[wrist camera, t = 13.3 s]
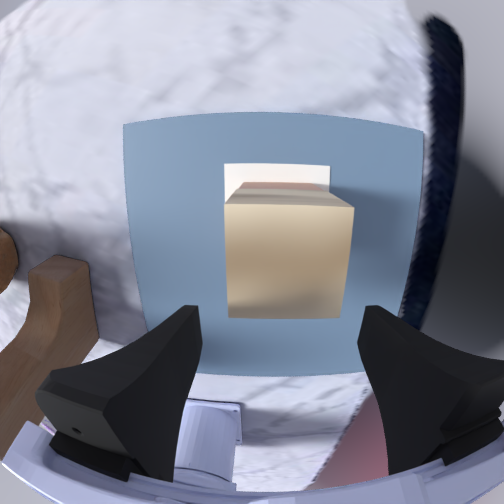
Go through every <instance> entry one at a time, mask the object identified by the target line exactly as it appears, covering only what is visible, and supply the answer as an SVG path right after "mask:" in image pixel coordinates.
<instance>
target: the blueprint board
mask: <svg viewBox="0 0 504 504" xmlns="http://www.w3.org/2000/svg"><path fill="white" fill-rule="evenodd" d="M123 156H124V177H125V192H126V204H127V214H128V223H129V231H130V239H131V246H132V253H133V260H134V266H135V272H136V277H137V283H138V288H139V293H140V298H141V303H142V308H143V312H144V317H145V321H146V325H147V329H148V332H149V331H151V330H152V329H154V328H155V327H157V326H158V325H159V324H161V323H162V322H163V321H164V320H166V319H167V318H168V317H170V316H171V315H172V314H173V313H174V312H176V311H177V310H178V309H180V308H181V307H182V306H184V305H198V307H199V316H200V325H201V333H202V340H203V345H202V351H201V356H200V361H199V365H198V368H197V371H196V373H204V374H217V375H234V376H271V377H278V376H315V375H332V374H345V373H355V372H365V369H364V366H363V364H362V361H361V357H360V354H359V349H358V345H357V340H358V336H359V332H360V328H361V324H362V320H363V315H364V311H365V306H368V305H379V306H381V307H383V308H384V309H386V310H388V311H389V312H391V313H392V314H394V315H395V316H397V315H398V312H399V308H400V305H401V301H402V297H403V293H404V289H405V285H406V281H407V276H408V272H409V267H410V262H411V257H412V252H413V246H414V240H415V234H416V228H417V220H418V213H419V204H420V194H421V183H422V167H423V131H420V130H416V129H411V128H407V127H402V126H397V125H392V124H386V123H381V122H375V121H368V120H362V119H355V118H347V117H338V116H328V115H317V114H303V113H281V112H235V113H213V114H199V115H187V116H177V117H169V118H161V119H154V120H147V121H141V122H135V123H129V124H123ZM243 182H294V183H312V184H314V185H316V186H317V187H319V188H321V189H322V190H324V191H328V192H329V193H331V194H333V195H335V196H336V197H338V198H340V199H341V200H343V201H345V202H346V203H348V204H350V205H351V206H353V207H354V218H353V228H352V238H351V246H350V255H349V262H348V270H347V276H346V283H345V289H344V296H343V301H342V307H341V313H340V318H324V319H248V318H228V302H227V280H226V254H225V222H224V204H225V202H226V201H227V200H228V199H229V197H230V196H231V195H232V194H233V193H234V191H235V190H236V189H238V188H239V187H240V186H241V185H242V183H243Z"/></svg>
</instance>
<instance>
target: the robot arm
mask: <svg viewBox="0 0 504 504" xmlns="http://www.w3.org/2000/svg"><path fill="white" fill-rule="evenodd" d="M202 345H203V340H202V333H201V325H200V316H199V307H198V305H184V306H182V307H181V308H180V309H178V310H177V311H176V312H174V313H173V314H172V315H171V316H170V317H168V318H167V319H166V320H164V321H163V322H162V323H161V324H159V325H158V326H157V327H155V328H154V329H152V330H151V331H149V332H148V333H147V334H145V335H144V336H142V337H141V338H139V339H138V340H136V341H134V342H133V343H131V344H129V345H127V346H125V347H123V348H122V349H120V350H117V351H115V352H113V353H110V354H108V355H106V356H104V357H101V358H98V359H96V360H93V361H90V362H86V363H83V364H80V365H76V366H71V367H66V368H61V369H55V370H51V372H50V373H49V374H48V376H47V377H46V378H45V379H44V381H43V382H42V383H41V385H40V386H39V387H38V389H37V390H36V391H35V399H36V402H37V404H38V406H39V407H40V409H41V410H42V412H43V413H44V415H45V416H46V417H47V419H48V420H49V421H50V422H51V424H52V425H53V426H54V428H55V429H56V430H57V431H56V433H55V435H54V436H53V435H52V434H50V433H49V432H48V431H46V430H45V429H43V428H41V427H39V426H37V425H35V424H34V423H32V422H30V421H26V423H25V424H24V426H23V427H22V429H21V430H20V432H19V434H18V435H17V437H16V438H15V440H14V442H13V443H12V445H11V446H10V448H9V450H8V451H7V453H6V455H5V457H4V458H3V460H2V465H3V466H5V467H6V468H7V469H8V470H9V471H10V472H11V473H13V474H14V475H15V476H16V477H18V478H19V479H20V480H21V481H22V482H24V483H25V484H27V485H28V486H29V487H30V488H32V489H33V490H35V491H36V492H37V493H39V494H40V495H42V496H43V497H45V498H46V499H48V500H50V501H51V502H53V503H55V504H470V503H472V502H474V501H476V500H477V499H479V498H480V497H482V496H483V495H485V494H486V493H488V492H489V491H491V490H492V489H493V488H495V487H496V486H498V485H499V484H500V483H502V482H503V481H504V420H503V421H502V422H501V421H500V420H499V418H498V417H500V416H501V411H500V409H499V407H500V405H501V404H502V402H503V401H504V360H496V359H489V358H484V357H480V356H476V355H472V354H469V353H466V352H463V351H460V350H457V349H454V348H452V347H449V346H447V345H445V344H443V343H441V342H439V341H436V340H435V339H432V338H431V337H429V336H427V335H425V334H424V333H422V332H420V331H419V330H417V329H415V328H414V327H412V326H411V325H409V324H407V323H406V322H404V321H403V320H401V319H400V318H398V317H397V316H395V315H394V314H392V313H391V312H389V311H388V310H386V309H384V308H383V307H381V306H379V305H368V306H365V311H364V315H363V320H362V324H361V328H360V332H359V336H358V340H357V345H358V349H359V354H360V357H361V361H362V364H363V366H364V369H365V371H366V374H367V376H368V379H369V381H370V384H371V386H372V389H373V391H374V394H375V396H376V399H377V402H378V405H379V409H380V413H381V417H382V422H383V427H384V433H385V438H386V446H387V455H388V471H389V476H386V477H382V478H379V479H374V480H370V481H366V482H361V483H356V484H351V485H345V486H339V487H332V488H325V489H315V490H305V491H289V492H243V491H236V483H232V476H233V466H234V456H235V446H236V445H242V428H241V411H240V405H239V404H234V403H219V402H207V401H197V400H189V399H187V397H188V394H189V391H190V388H191V385H192V382H193V379H194V377H195V374H196V371H197V368H198V365H199V361H200V356H201V351H202Z"/></svg>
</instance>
